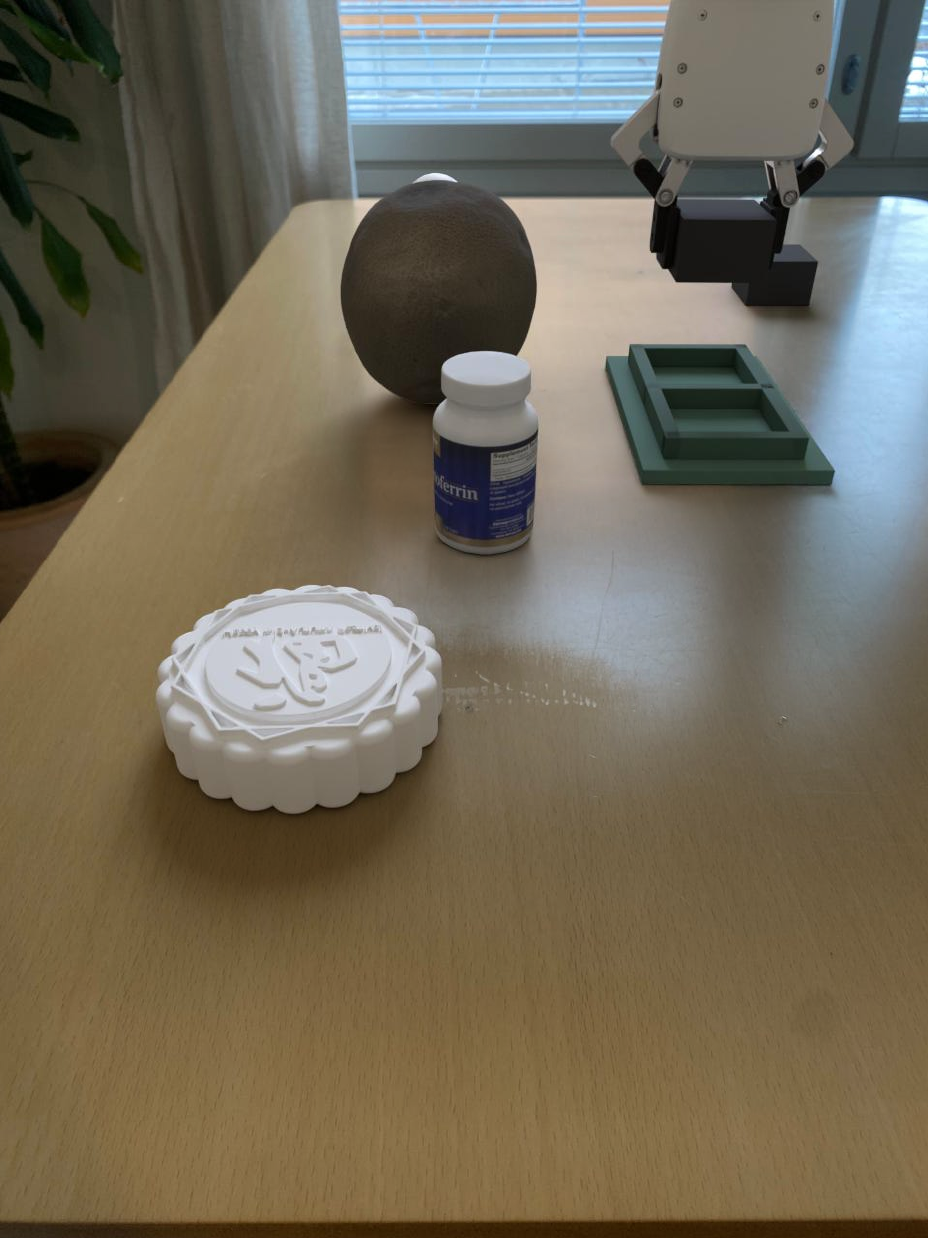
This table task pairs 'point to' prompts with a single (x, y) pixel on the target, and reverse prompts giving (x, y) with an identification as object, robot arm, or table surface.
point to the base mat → (710, 418)
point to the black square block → (722, 241)
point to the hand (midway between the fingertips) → (712, 261)
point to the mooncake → (300, 697)
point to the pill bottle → (485, 453)
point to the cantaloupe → (436, 284)
